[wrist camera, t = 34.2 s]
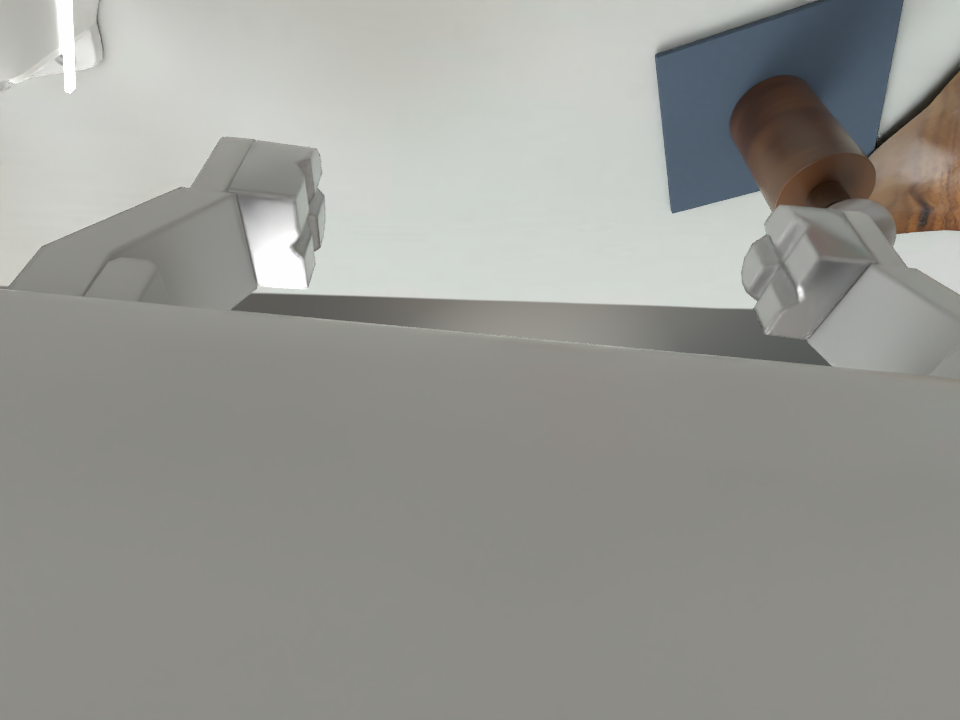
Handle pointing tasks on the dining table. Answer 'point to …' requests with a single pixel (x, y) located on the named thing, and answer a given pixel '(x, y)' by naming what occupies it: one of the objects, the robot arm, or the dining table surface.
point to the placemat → (762, 55)
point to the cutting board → (923, 167)
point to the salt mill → (803, 152)
